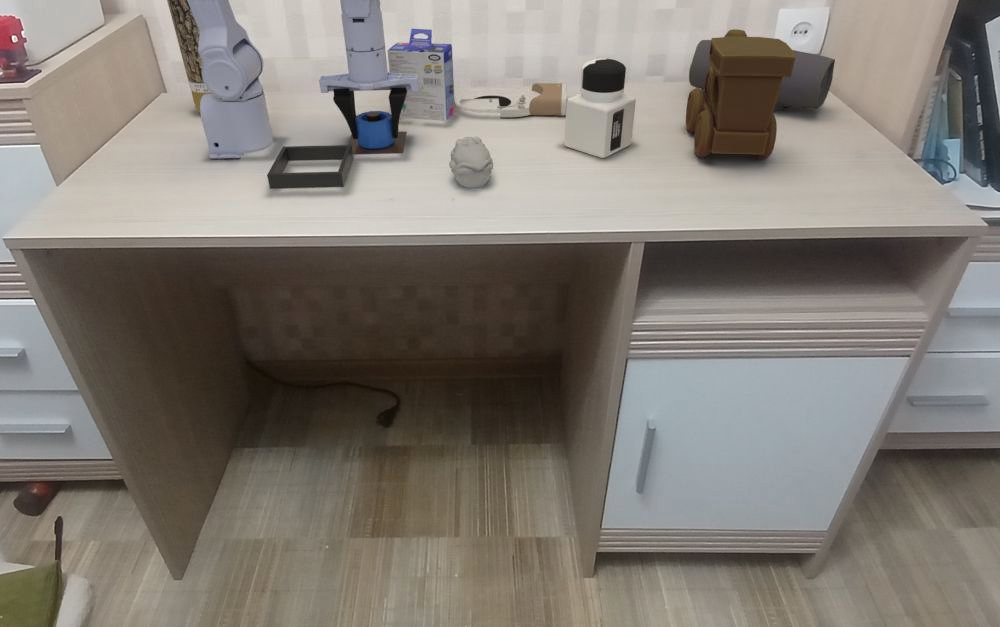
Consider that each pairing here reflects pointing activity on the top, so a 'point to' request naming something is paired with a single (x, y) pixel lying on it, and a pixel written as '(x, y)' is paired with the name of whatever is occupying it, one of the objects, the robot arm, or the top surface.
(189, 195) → the top surface
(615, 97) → the container
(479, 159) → the frog figurine
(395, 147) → the tape holder
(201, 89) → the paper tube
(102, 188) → the top surface
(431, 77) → the ink cartridge box
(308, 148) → the tray
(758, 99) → the wooden toy train
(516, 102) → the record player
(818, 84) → the bluetooth speaker
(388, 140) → the tape roll
